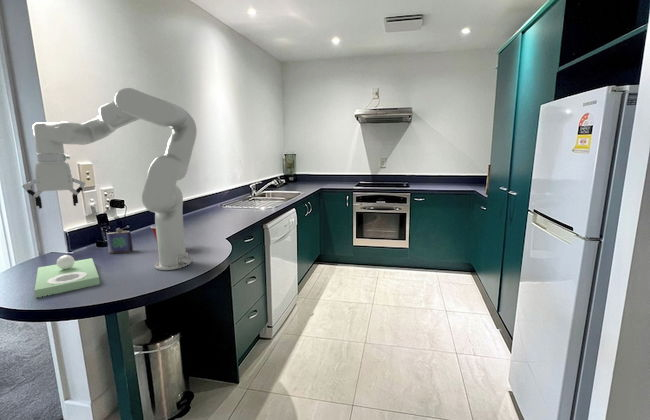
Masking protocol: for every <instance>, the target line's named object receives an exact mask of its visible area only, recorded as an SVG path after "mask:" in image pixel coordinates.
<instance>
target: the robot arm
mask: <svg viewBox="0 0 650 420" xmlns="http://www.w3.org/2000/svg"><path fill="white" fill-rule="evenodd" d="M114 95H115V96H114V100H112V101H110V102H107V103H105V104H103V105H101V106H100V107H99V108H98V113H99V115H97V116H96V117H95V118H92V119H91V120H88V121H86V122H81V123H79V122H78V123H77V122H70V121H60V122H59V121H58V122H42V121H41V122H35V123H34V124H32V130H33V131H32V132H33V138H34V144H35V145H34V146H35V151H36V159H37V162H35V163H34V164H35V165H34V179H33V180H31V181H28V182H25V183H24V184H22V185H21V186H22V187H21V188H23V189H24V190H25V192H27V194H29V195H31V196H32V197H33V198H34V201H35V206H36V207H38V209H39V210H40V209H42V208H43V205H42V204H43V203H42V197H41V196H40V195H41V194H42V193H43V192H59V191H60V192H61V191H69V192H71V193H72V196H71V197H72V205H73V206H74V207H77V204H78V203H79V199H78V194H79V193H80V192H82V191H83V189H84V187H85V185H86V182H84V181H81V180H79V179H77V178H73V176H72V170H71V167H70V164H69V162H67V160H70V159H71V157H70V155H67V154H65V150H64V149H65V148H64V145H79V146H80V145H81V146H83V145H84V146H85V145H90V144H93V143H95V142H98V141H100V140H103V139H106V138H107V137H108V136H110V135H111V134H113V133H114V132H115V131H117V130H118V129H120V128H123V127H124V126H127V125H129V124H131V123H133V122H137V121H139V120H143V121H146V122H148V123H151V124H154V125H156V126H159V127H162V128H163V127H164V128H168V129H171V135H170V137H169V138H168V141H167V145H166V149H165V151H164V152H165V153H164V155H159V156H157V157H156V158H154V159H153V161H152V162H151V163H150V165H149V168H148V170H147V175H146V178H145V183H144V184H143V185H144V186H143V189H142V194H141V202H142V204H143V206H144V208H145V209H146V210H147V211H148V212H151V213H154V223H155V224H154V225H155V226H156V236H157V241H156V243H157V244H156V245H157V252H158V261H157V262H156V263H155V264H154V268H155V269H156V270H159V271H172V270H173V271H174V270H177V269H182V267H183V268H185V266H186V267H188V266H189V265H190V264H192V261H193V260H194V257H193V256H189V253H188V252H187V251H186V241H185V240H186V239H185V238H186V237H185V229H184V217H183V205H184V197H183V193H182V190H181V188H180V187H179V186H178V185H177V182H178V181H181V180H182V179H184V178H185V177H186V175H187V173H188V169H189V165H190V161H191V158H192V154H193V150H194V146H195V142H196V139H197V132H198V131H197V125H196V122H195V120H194V118H193V117H192V115H191V114H190V113H189V112H188V111H187V110H186V109H185V108H183V107H182V106H180V105H178V104H175V103H173V102H170V101H167V100H164V99H161V98H159V97H156V96H153V95H151V94H147V93H145V92H143V91H140V90H138V89H135V88H131V87H124V88H122V89H120V90H118V91H117V92H116V93H115V94H114ZM74 183H75V184H78V185H79V186H78V188H76V189H75V188H74ZM33 185H35V186H36V189H37V190H36V192H35V191H34V190H32V189H31V186H33ZM187 265H188V266H187Z"/></svg>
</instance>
